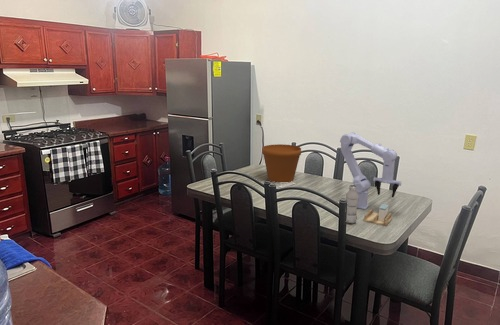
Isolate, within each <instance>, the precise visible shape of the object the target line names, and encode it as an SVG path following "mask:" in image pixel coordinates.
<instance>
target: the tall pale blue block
mask: <svg viewBox="0 0 500 325" xmlns="http://www.w3.org/2000/svg"><path fill="white" fill-rule="evenodd" d="M389 205H390V204H386V203H382V204H381V205H380V206H379V207H378V208H379V209H378V213H379V217H378V220H379V221H383V222H384V219H385V218H386V217H387V216H388V214H389V207H390V206H389Z"/></svg>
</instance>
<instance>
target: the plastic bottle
mask: <svg viewBox="0 0 500 325" xmlns="http://www.w3.org/2000/svg"><path fill="white" fill-rule="evenodd" d="M356 190H357V186H355V185H354V184H350V185H349V188H348V191H347V192H346V194H345V200H347V202H348V204H347V222H346V223H347V224H355V223H356V222H357V220H358V215H357V210H358V208H357V202H358V198H359V195H358V193H357V191H356Z"/></svg>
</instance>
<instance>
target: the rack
mask: <svg viewBox="0 0 500 325" xmlns="http://www.w3.org/2000/svg"><path fill="white" fill-rule="evenodd" d="M392 215H393V214H392V212H388V216H387V217H386V218H385V219H384V222H383V221H379V220H378V217H379V212H378V213H377V212H374V209H373V208H371V209H369V211H368V212H366V214H364V218H363V219H362V221H363V222H365V223H369V224H370V223H371V224H374V225H379V226H383V227H387V226H388V225H389V224H390V222H391V221H392V219H393V216H392Z"/></svg>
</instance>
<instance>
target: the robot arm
mask: <svg viewBox="0 0 500 325" xmlns="http://www.w3.org/2000/svg"><path fill="white" fill-rule="evenodd" d="M339 142H340V151H341V152H340V153H341V154H342V156H343V158H344V160H345V163H346V165H347V166H348V170H349V171H350V173H351V176H352V185H355V186H357V190H356V191H357V193H358V195H359V198H358V202H357V209H363V210H366V209H368V207H369V206H370V204H368V199H369V198H368V197H369V189H370V188H371V185H372V184H371V181H369V180H368V179H367V176H365V175H364V174H363V173H362V171H361V168H360V166H359V164H358V162H357V160H356V158H355V156H354V154H353V151H352V149H353V147H354V145H355V144H359V145H361V146H363V147H365V148H367V149H370V151H371V153H372V154H374V155H376V156H377V157H380V158H382V160H383V164H382V175H381V177H375V176H374V177H373V182H374V186H375V188H376V192H377V196H379V195H380V194H381V185H382V183H383V184H390V185H392V194H391V198H394V197H395V195H396V192H397V190H398V188H399V187H401V186H402V181H400V180H396V179H394V174H395V166H396V165H395V164H396V162H395V161H396V159H397V158H398V154H397V152H396V151H395V150H394V149H390V148H388V147H385V146H382V143H373V142H371V141H369V140H368V139H366V138H364V137H362V136H361V135H360V134H358V133H356V132H350V133H344V134H342V136H341V138H340V139H339Z"/></svg>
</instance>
